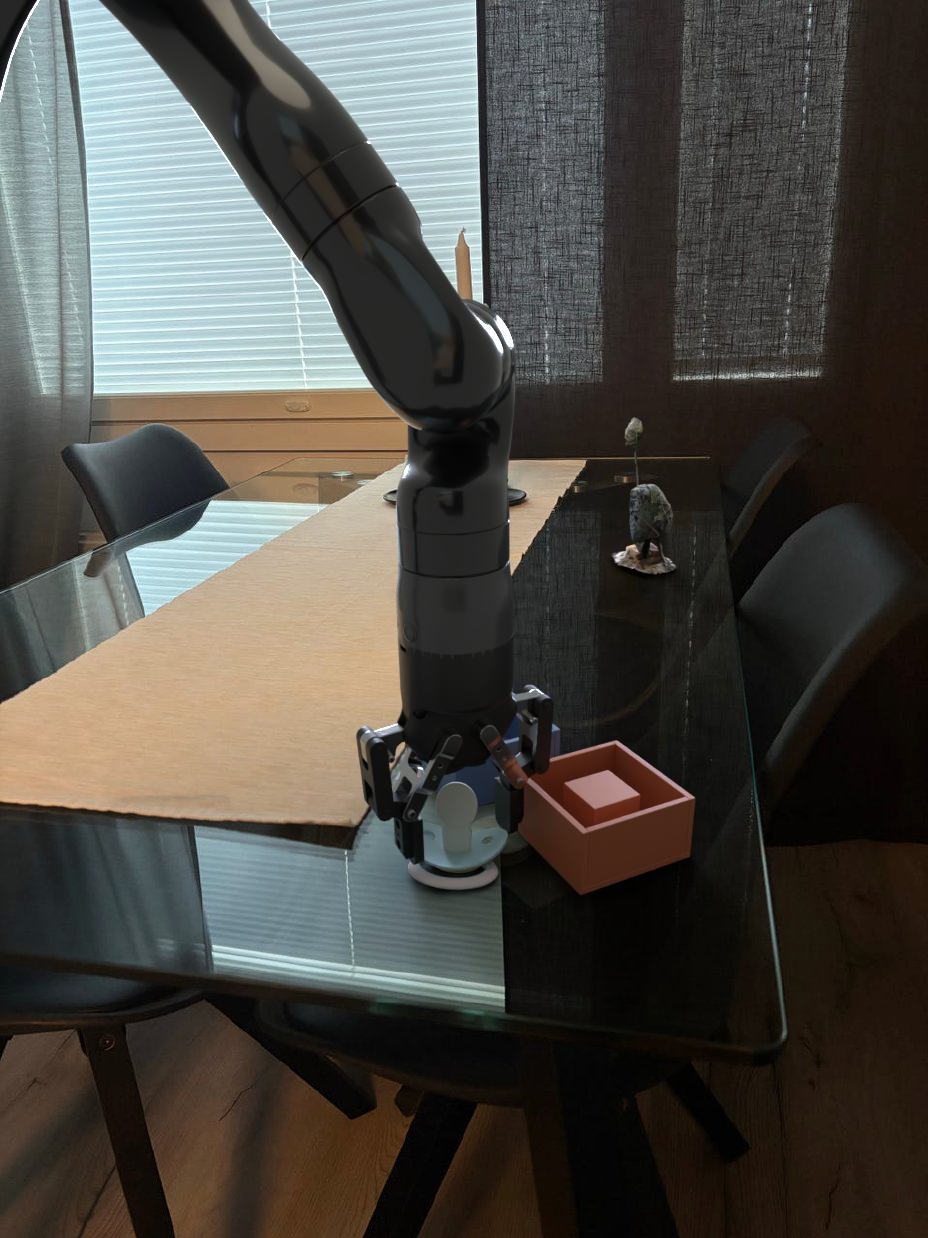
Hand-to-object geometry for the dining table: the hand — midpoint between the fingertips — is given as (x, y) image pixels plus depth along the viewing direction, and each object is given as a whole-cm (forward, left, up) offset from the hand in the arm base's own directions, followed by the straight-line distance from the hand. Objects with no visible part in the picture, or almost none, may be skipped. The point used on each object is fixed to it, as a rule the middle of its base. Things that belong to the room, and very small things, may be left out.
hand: (460, 842), depth 68 cm
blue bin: (+7, +11, -2) cm, 13 cm away
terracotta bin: (+10, -2, -2) cm, 11 cm away
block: (+10, -2, -2) cm, 11 cm away
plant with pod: (+52, +48, -2) cm, 71 cm away
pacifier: (-1, 0, -2) cm, 2 cm away
